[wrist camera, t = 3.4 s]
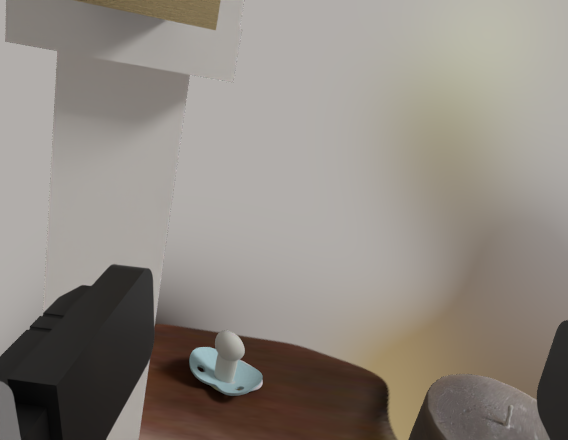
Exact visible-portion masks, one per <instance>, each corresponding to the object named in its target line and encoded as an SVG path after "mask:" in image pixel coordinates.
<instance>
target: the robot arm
mask: <svg viewBox="0 0 568 440" xmlns="http://www.w3.org/2000/svg"><path fill="white" fill-rule="evenodd" d="M153 344H154V295H153V275H152V272H151V270H150V269H149V268H142V267H133V266H125V265H117V264H112V265H110V266H109V267H108V268H107V269H106V270H105V272H104V273H103V274H102V275H101V276H100V277H99V278H98V279H97V280H96V281H95V283H94V284H93V285H92V286H87V285H81V286H79V287H77V288H75V289H73V290H71V291H70V292H68V293H66V294H64V295H62V296H60V297H58V298H57V299H56V300H55V302H54V303H53V304H52V305H51V306H50V307H49V308H48V309H47V310H46V311H45V312H44V313H43V316H40V317H39V318H38V319H37V320H36V321H35V322H34V323H33V324H32V325H31V326H30V329H29V330H26V331H25V332H24V333H23V334H22V335H21V336H20V337H19V338H18V339H17V340H16V341H15V342H14V343H13V344H12V345H11V346H10V347H9V348H8V349H7V350H6V351H5V352H4V353H3V354H2V355H1V356H0V440H106V439H107V437H108V435H109V433H110V432H111V430H112V428H113V426H114V424H115V422H116V421H117V419H118V417H119V415H120V413H121V412H122V410H123V408H124V406H125V404H126V403H127V401H128V399H129V397H130V395H131V393H132V392H133V390H134V388H135V386H136V384H137V383H138V381H139V379H140V377H141V375H142V374H143V372H144V370H145V368H146V366H147V364H148V362H149V360H150V357H151V353H152V349H153ZM537 408H538V413H539V417H540V419H541V422H542V424H543V426H544V428H545V430H546V432H547V434H548V436H549V438H550V440H568V321H567V320H566V321H563V322H562V323H561V324H560V325H559V327H558V329H557V331H556V334H555V337H554V340H553V343H552V346H551V349H550V352H549V355H548V358H547V361H546V364H545V367H544V370H543V373H542V376H541V379H540V382H539V385H538V390H537Z"/></svg>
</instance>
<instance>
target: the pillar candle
mask: <svg viewBox="0 0 568 440" xmlns="http://www.w3.org/2000/svg"><path fill="white" fill-rule="evenodd" d="M409 440H550V438H549V436H548V434H547V432H546V430H545V428H544V426H543V424H542V422H541V419H540V417H539V413H538V408H537V400H536V399H534V398H532V397H530V396H529V395H527V394H526V393H524V392H522V391H520V390H518V389H516V388H513V387H512V386H510V385H507V384H504V383H502V382H499V381H496V380H494V379H491V378H489V377H484V376H483V377H482V376H477V375H472V374H456V375H448V376H445V377H441V378H440V379H438V380H437V381H436V382H435V383H433V384H432V385H431V387H430V388H429V390H428V392H427V394H426V396H425V399H424V402H423V404H422V406H421V409H420V412H419V414H418V417H417V419H416V421H415V424H414V426H413V429H412V431H411V434H410V437H409Z"/></svg>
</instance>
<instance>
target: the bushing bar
mask: <svg viewBox="0 0 568 440" xmlns="http://www.w3.org/2000/svg"><path fill="white" fill-rule="evenodd" d="M74 1H79V2H84V3H88V4H93V5H98V6H103V7H107V8H112V9H117V10H122V11H126V12H131V13H136V14H140V15H145V16H150V17H155V18H159V19H164V20H169V21H174V22H178V23H183V24H188V25H192V26H197V27H202V28H207V29H211V30H216V27H217V20H218V14H219V7H220V1H221V0H74Z"/></svg>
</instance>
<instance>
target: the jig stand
mask: <svg viewBox="0 0 568 440" xmlns="http://www.w3.org/2000/svg"><path fill="white" fill-rule="evenodd" d="M243 5H244V0H221V1H220V7H219V14H218V20H217V27H216V30H211V29H207V28H202V27H197V26H192V25H188V24H183V23H178V22H174V21H169V20H164V19H159V18H155V17H150V16H145V15H140V14H136V13H131V12H126V11H122V10H117V9H112V8H107V7H103V6H98V5H93V4H88V3H84V2H79V1H74V0H6V38H5V41H6V42H10V43H16V44H22V45H28V46H33V47H39V48H44V49H49V50H55V51H57V69H56V88H55V104H54V105H55V106H54V124H53V141H52V160H51V178H50V195H49V196H50V197H49V213H48V231H47V250H46V267H45V286H44V304H43V313H44V312H45V311H46V310H47V309H48V308H49V307H50V306H51V305H52V304H53V303H54V302H55V300H56V299H57V298H58V297H60V296H62V295H64V294H66V293H68V292H70V291H71V290H73V289H75V288H77V287H79V286H81V285H87V286H92V285H93V284H94V283H95V281H96V280H97V279H98V278H99V277H100V276H101V275H102V274H103V273H104V272H105V270H106V269H107V268H108V267H109V266H110V265H112V264H117V265H125V266H133V267H142V268H149V269H150V270H151V272H152V275H153V295H154V326H155V318H156V311H157V304H158V297H159V290H160V283H161V276H162V269H163V262H164V254H165V247H166V240H167V233H168V226H169V218H170V212H171V204H172V198H173V191H174V183H175V176H176V169H177V162H178V155H179V148H180V140H181V134H182V127H183V119H184V113H185V106H186V98H187V91H188V84H189V76H190V75H194V76H200V77H205V78H211V79H217V80H222V81H228V82H233V80H234V74H235V68H236V63H237V57H238V50H239V45H240V39H241V33H242V29H240V23H241V17H242V11H243ZM149 361H150V360H149ZM148 368H149V362H148V364H147V366H146V368H145V370H144V372H143V374H142V375H141V377H140V379H139V381H138V383H137V384H136V386H135V388H134V390H133V392H132V393H131V395H130V397H129V399H128V401H127V403H126V404H125V406H124V408H123V410H122V412H121V413H120V415H119V417H118V419H117V421H116V422H115V424H114V426H113V428H112V430H111V432H110V433H109V435H108V437H107V439H106V440H138V439H139V432H140V425H141V418H142V411H143V404H144V397H145V389H146V382H147V375H148Z"/></svg>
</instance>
